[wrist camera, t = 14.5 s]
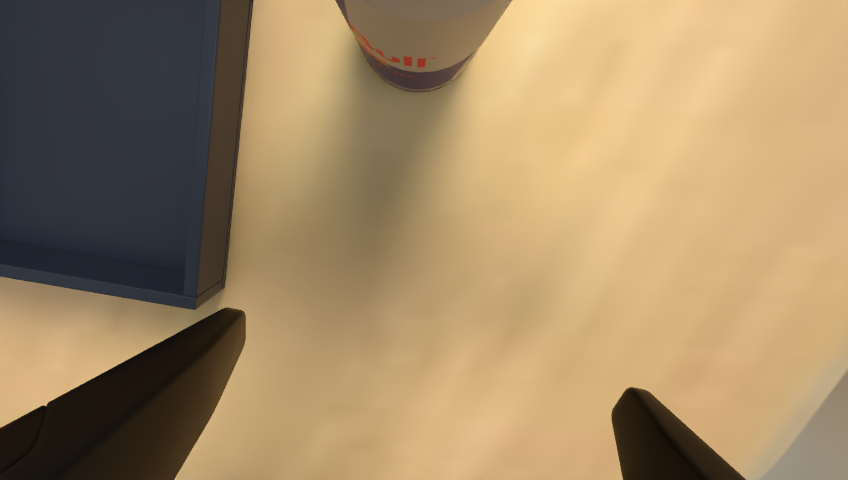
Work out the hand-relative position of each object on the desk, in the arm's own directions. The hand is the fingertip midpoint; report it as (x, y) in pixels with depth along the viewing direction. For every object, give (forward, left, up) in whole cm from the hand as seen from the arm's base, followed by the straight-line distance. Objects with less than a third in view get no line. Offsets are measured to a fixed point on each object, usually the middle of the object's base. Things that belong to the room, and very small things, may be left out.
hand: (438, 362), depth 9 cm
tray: (+4, +16, -11) cm, 20 cm away
